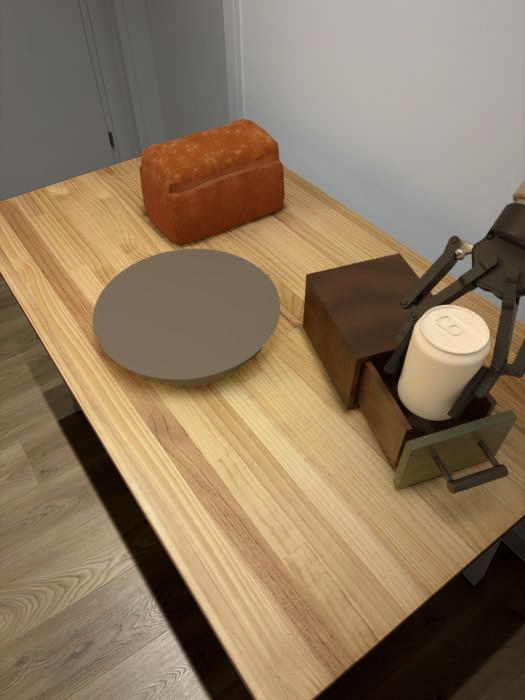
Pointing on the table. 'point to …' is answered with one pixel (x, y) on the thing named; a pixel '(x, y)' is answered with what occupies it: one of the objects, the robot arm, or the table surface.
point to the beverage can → (442, 360)
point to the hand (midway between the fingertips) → (419, 393)
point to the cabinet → (356, 316)
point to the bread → (211, 180)
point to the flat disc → (186, 316)
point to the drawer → (431, 433)
